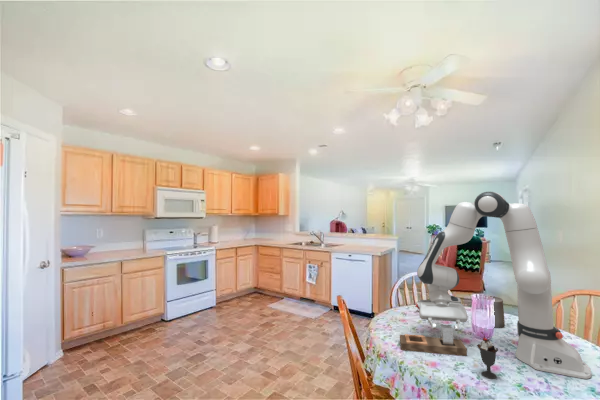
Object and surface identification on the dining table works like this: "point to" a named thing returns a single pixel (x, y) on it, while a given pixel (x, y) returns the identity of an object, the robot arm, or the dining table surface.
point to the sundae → (488, 356)
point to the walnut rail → (431, 345)
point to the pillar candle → (499, 312)
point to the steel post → (446, 335)
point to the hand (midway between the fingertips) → (445, 329)
